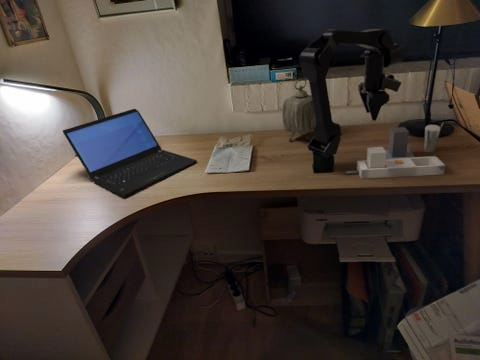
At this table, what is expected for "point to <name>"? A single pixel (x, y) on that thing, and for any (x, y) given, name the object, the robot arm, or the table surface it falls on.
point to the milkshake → (431, 137)
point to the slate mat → (408, 155)
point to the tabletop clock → (299, 113)
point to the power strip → (401, 168)
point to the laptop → (123, 153)
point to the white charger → (376, 157)
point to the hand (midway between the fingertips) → (371, 116)
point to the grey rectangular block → (398, 142)
